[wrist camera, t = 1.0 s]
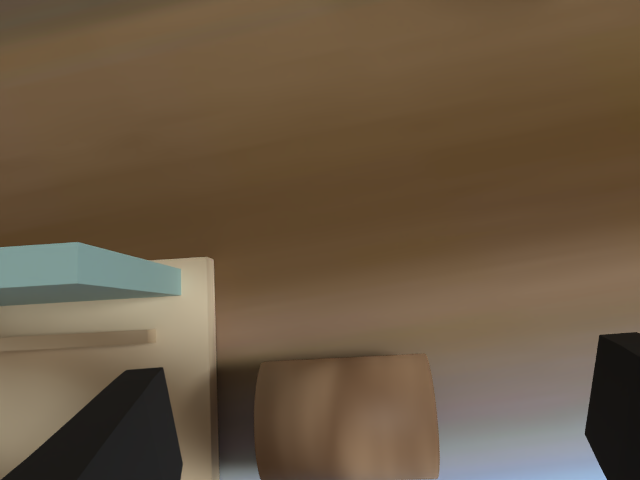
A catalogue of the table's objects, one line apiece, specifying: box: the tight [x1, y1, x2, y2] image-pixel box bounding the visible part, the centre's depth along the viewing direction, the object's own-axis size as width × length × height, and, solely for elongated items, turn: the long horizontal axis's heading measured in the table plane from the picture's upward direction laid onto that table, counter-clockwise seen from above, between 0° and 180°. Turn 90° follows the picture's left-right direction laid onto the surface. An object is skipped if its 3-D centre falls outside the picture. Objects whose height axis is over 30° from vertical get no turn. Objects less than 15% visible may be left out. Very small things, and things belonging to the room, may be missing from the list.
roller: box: [254, 354, 440, 480], centre depth 18 cm, size 4×6×4 cm
